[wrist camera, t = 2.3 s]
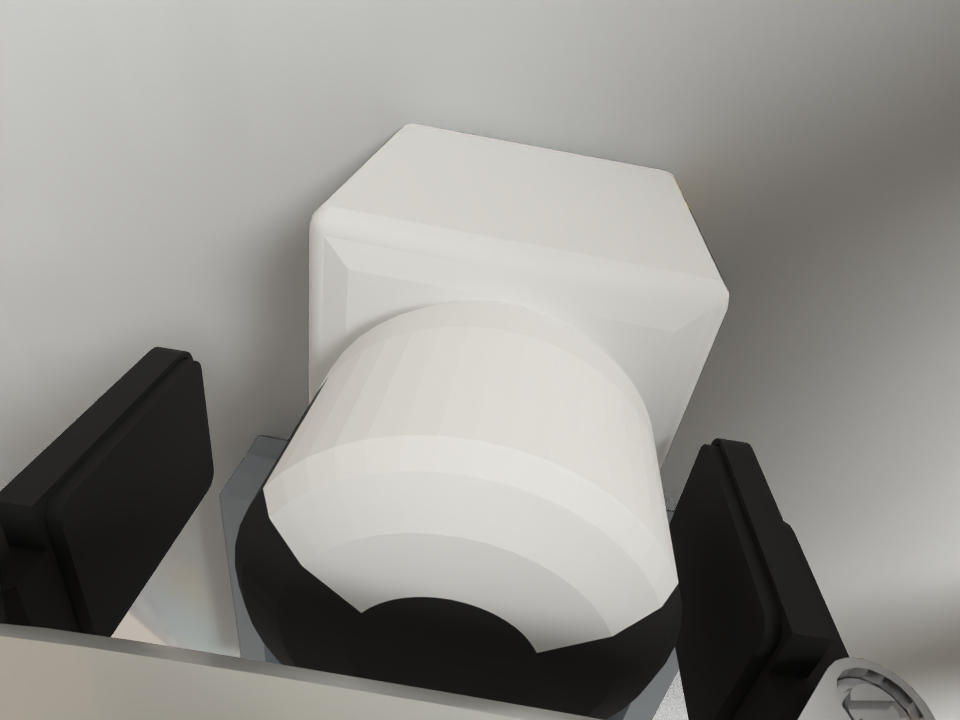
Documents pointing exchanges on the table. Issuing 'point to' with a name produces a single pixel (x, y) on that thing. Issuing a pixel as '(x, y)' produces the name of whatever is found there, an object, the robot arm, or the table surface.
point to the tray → (251, 646)
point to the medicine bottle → (487, 427)
